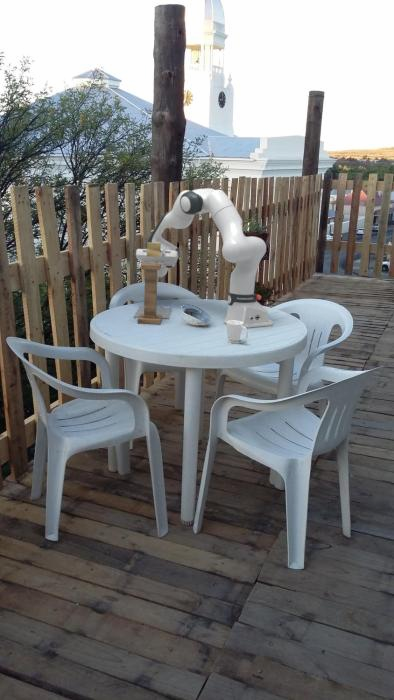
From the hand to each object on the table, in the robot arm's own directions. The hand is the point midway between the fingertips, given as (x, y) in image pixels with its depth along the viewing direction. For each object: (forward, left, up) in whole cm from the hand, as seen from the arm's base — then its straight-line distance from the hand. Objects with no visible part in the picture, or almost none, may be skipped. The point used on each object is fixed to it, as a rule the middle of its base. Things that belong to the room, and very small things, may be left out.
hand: (156, 249), depth 271 cm
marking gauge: (+2, +5, -2) cm, 5 cm away
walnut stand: (+8, +21, -30) cm, 38 cm away
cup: (-18, +60, -30) cm, 70 cm away
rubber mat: (+2, +5, -30) cm, 30 cm away
